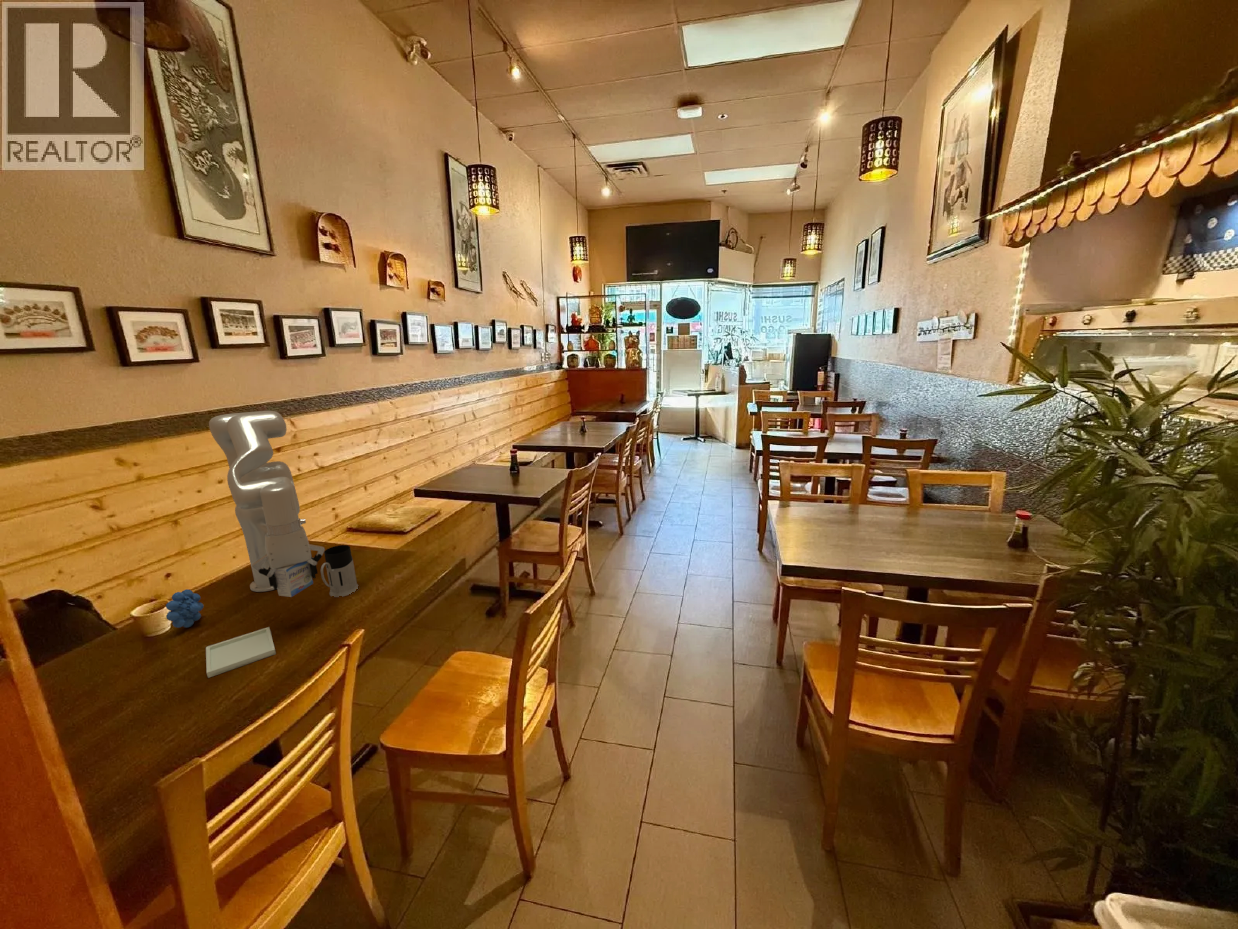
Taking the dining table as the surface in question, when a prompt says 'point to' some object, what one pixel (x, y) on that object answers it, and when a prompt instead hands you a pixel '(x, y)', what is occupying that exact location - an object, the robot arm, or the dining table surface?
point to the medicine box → (293, 579)
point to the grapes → (184, 608)
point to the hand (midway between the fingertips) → (294, 581)
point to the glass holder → (339, 571)
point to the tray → (239, 651)
